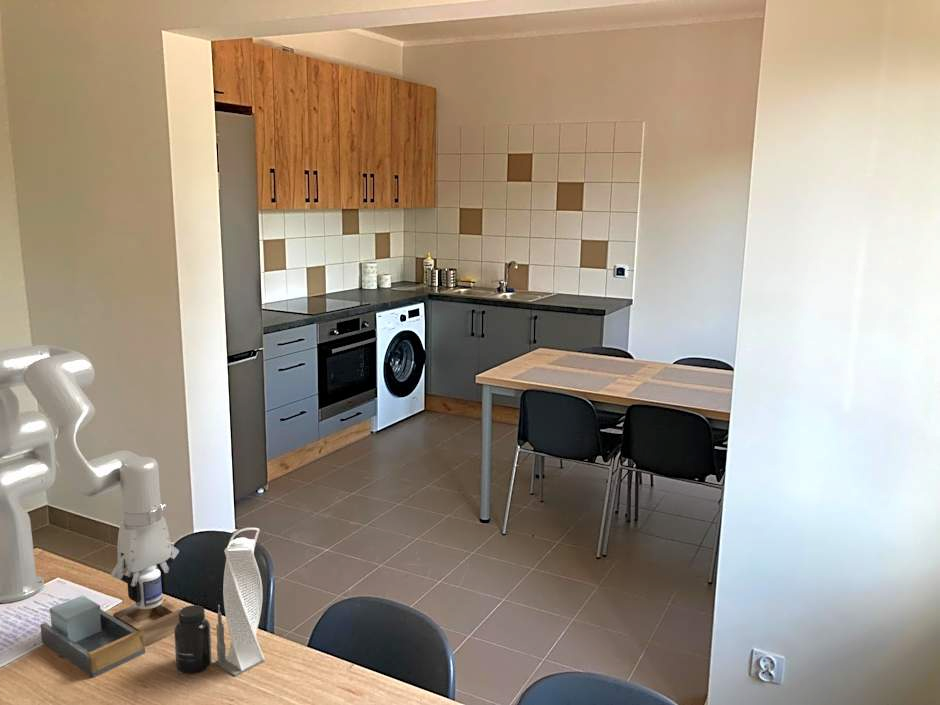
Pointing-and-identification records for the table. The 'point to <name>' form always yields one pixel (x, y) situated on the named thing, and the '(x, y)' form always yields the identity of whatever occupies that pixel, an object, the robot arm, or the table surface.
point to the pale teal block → (76, 618)
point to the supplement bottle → (192, 640)
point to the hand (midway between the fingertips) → (148, 593)
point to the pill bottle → (150, 588)
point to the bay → (98, 645)
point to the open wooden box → (151, 620)
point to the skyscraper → (240, 607)
